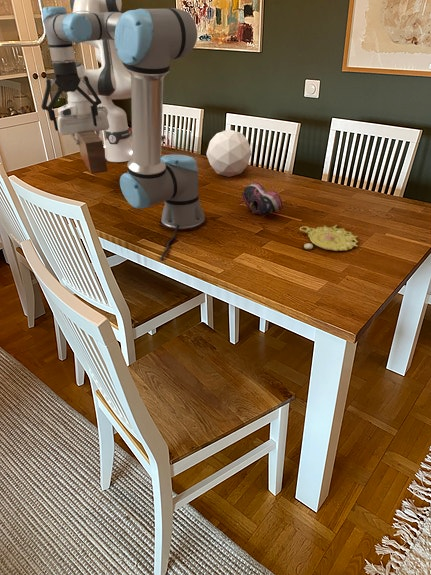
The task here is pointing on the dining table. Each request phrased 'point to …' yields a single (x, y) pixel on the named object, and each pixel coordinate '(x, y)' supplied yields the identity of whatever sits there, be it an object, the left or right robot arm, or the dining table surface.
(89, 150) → the box
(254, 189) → the athletic shoe
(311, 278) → the dining table surface
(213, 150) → the sphere
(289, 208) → the dining table surface
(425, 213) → the dining table surface
